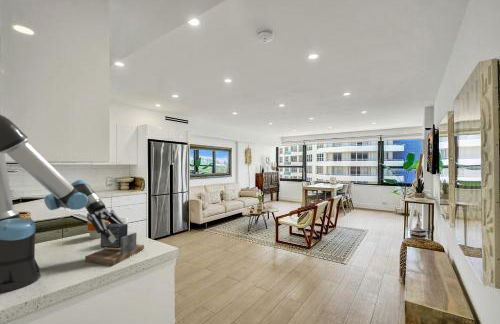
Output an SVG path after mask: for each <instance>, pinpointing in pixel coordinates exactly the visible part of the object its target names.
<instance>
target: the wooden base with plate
mask: <svg viewBox="0 0 500 324" xmlns="http://www.w3.org/2000/svg"><path fill="white" fill-rule="evenodd" d="M143 249H144V250H145V244H137V232H133V233H130V234H129V233H128V235H127V236H124V237H122V238H121V248H103V249H102V248H101V249H100V250H98V251H95V252H93V253H91V254H88V255H85V256H84V262H85V263H89V264H99V265H101V264H102V265H107V266H115V265H118V264H119V263H121V262H124V261H125V260H128V259H129V258H131V257H133V256H134V254H135V255H137V254H139V253H140V251H141V252H142V250H143ZM144 250H143V251H144ZM138 252H139V253H138ZM136 253H137V254H136ZM132 255H133V256H132ZM130 256H131V257H130Z"/></svg>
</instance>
